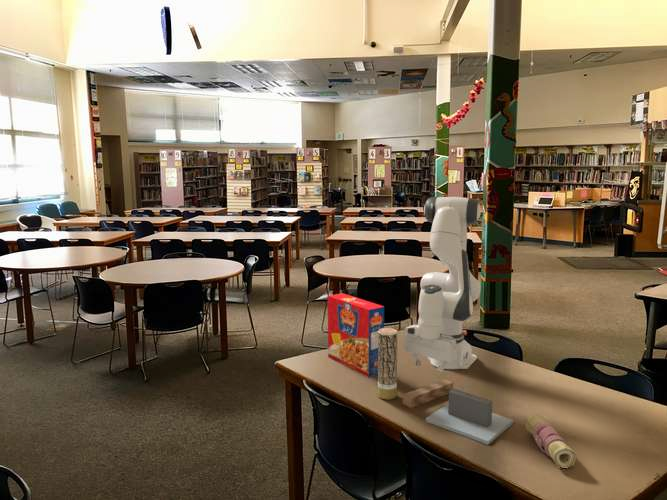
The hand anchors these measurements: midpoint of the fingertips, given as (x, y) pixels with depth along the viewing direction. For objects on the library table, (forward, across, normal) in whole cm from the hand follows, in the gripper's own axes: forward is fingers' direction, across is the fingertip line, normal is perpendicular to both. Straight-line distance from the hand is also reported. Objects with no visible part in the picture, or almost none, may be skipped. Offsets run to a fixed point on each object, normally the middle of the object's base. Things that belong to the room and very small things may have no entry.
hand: (428, 368), depth 188 cm
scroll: (+12, -45, +7) cm, 47 cm away
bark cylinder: (+12, +12, +8) cm, 19 cm away
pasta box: (+12, +41, -8) cm, 43 cm away
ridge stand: (+12, -20, +6) cm, 24 cm away
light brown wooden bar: (+12, 0, -1) cm, 12 cm away
